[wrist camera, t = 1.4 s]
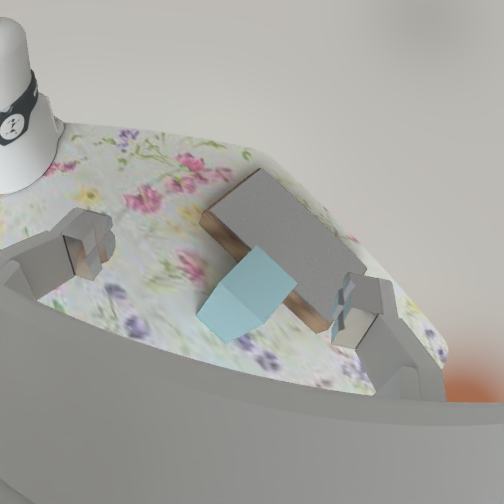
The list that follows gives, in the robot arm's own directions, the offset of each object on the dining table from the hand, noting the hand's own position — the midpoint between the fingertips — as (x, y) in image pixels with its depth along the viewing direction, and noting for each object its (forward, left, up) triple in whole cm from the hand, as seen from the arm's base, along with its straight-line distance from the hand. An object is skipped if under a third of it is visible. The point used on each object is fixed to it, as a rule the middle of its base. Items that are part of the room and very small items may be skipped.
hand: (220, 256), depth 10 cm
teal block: (+2, +8, -29) cm, 30 cm away
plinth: (+2, +21, -29) cm, 36 cm away
